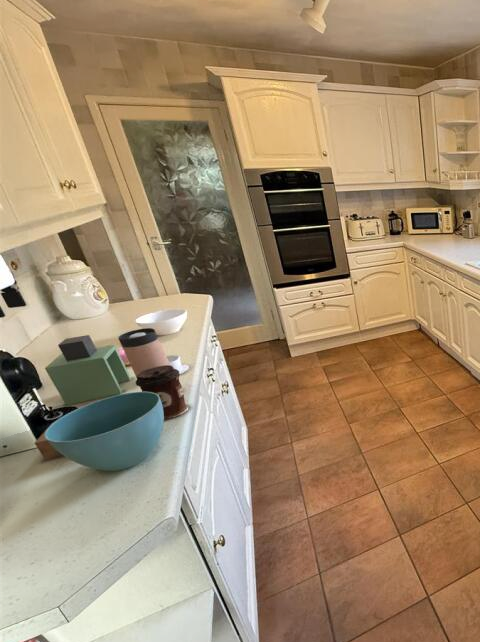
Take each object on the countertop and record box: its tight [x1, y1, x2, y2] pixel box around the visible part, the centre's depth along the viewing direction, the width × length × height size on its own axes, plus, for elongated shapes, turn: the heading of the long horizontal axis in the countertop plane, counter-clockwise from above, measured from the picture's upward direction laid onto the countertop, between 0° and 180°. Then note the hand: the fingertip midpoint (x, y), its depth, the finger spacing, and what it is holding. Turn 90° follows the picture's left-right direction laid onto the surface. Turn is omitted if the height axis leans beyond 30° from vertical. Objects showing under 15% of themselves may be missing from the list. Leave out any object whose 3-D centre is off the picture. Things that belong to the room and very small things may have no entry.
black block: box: [57, 334, 97, 361], centre depth 112 cm, size 5×5×5 cm
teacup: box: [166, 354, 190, 375], centre depth 126 cm, size 10×10×5 cm
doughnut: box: [117, 348, 131, 366], centre depth 136 cm, size 11×11×4 cm
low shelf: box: [34, 421, 65, 461], centre depth 95 cm, size 12×9×5 cm
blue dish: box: [44, 391, 165, 472], centre depth 87 cm, size 18×18×12 cm
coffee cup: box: [135, 365, 189, 420], centre depth 104 cm, size 9×8×13 cm
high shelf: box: [44, 344, 132, 406], centre depth 115 cm, size 12×10×12 cm
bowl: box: [135, 308, 188, 336], centre depth 158 cm, size 16×16×7 cm
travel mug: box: [118, 328, 170, 379], centre depth 110 cm, size 8×8×20 cm
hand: (7, 312), depth 98 cm, fingers open, 9 cm apart
